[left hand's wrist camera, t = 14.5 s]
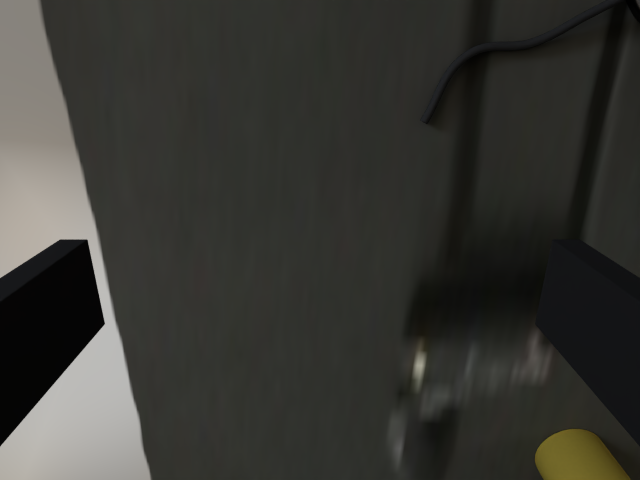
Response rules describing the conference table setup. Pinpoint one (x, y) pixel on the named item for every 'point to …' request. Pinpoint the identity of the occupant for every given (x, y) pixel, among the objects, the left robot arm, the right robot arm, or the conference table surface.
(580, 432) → the canister
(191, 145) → the conference table surface
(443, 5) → the conference table surface
